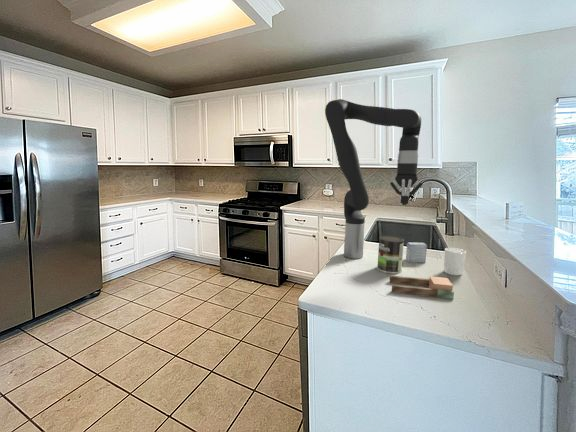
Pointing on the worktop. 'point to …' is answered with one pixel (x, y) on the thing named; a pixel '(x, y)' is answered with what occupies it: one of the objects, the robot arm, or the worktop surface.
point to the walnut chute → (418, 290)
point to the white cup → (454, 261)
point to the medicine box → (416, 252)
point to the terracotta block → (440, 283)
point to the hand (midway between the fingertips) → (404, 204)
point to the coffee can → (390, 254)
